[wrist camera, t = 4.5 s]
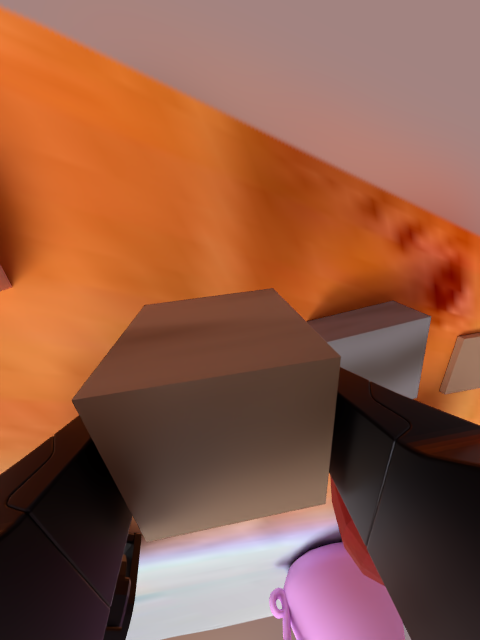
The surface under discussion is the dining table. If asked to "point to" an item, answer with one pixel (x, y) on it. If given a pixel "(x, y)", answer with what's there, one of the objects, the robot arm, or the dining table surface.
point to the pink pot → (334, 600)
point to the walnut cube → (214, 412)
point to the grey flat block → (380, 344)
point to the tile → (463, 365)
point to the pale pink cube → (4, 280)
